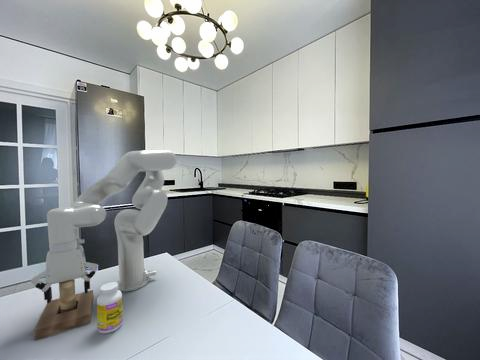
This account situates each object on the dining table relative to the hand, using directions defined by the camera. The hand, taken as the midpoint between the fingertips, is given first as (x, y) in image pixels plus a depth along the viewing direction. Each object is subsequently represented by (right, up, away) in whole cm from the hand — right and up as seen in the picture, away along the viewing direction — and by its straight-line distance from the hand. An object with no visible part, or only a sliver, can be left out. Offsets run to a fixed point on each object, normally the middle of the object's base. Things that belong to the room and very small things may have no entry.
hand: (68, 296), depth 71 cm
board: (0, -7, 0) cm, 7 cm away
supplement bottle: (+17, -7, -5) cm, 19 cm away
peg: (0, -7, 0) cm, 7 cm away
